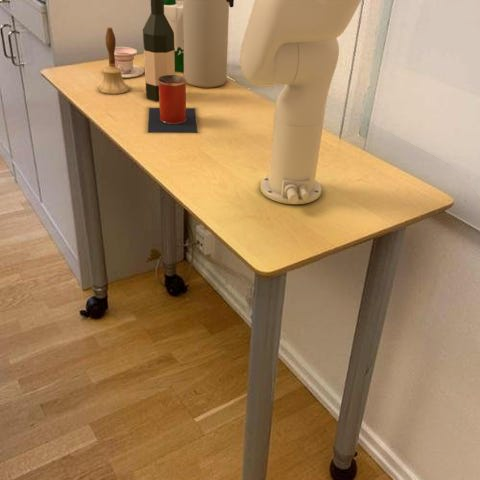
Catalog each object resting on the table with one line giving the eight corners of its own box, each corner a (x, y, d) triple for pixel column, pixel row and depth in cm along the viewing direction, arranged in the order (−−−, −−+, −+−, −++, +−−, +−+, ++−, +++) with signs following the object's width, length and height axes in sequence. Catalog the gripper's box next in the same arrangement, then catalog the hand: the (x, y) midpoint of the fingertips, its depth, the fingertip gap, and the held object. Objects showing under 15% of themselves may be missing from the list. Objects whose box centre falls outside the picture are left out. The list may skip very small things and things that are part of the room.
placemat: (197, 132, 143) (197, 132, 142) (147, 132, 141) (147, 132, 141) (194, 108, 155) (194, 108, 155) (149, 108, 154) (149, 107, 153)
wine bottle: (181, 98, 160) (179, -26, 141) (154, 103, 156) (148, -24, 137) (166, 89, 165) (163, -32, 146) (140, 93, 161) (132, -30, 142)
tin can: (186, 125, 146) (186, 84, 139) (159, 124, 145) (158, 83, 139) (186, 114, 151) (185, 75, 145) (159, 114, 150) (158, 74, 144)
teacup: (152, 71, 177) (151, 50, 173) (126, 81, 169) (124, 59, 165) (121, 63, 181) (120, 42, 177) (95, 73, 173) (92, 51, 169)
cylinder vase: (190, 72, 178) (190, -21, 162) (230, 77, 176) (233, -16, 160) (178, 85, 168) (177, -12, 152) (220, 90, 167) (223, -7, 151)
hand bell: (126, 83, 167) (121, 23, 157) (131, 93, 161) (127, 31, 151) (96, 85, 165) (90, 24, 155) (101, 95, 159) (94, 32, 149)
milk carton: (167, 62, 184) (165, -9, 172) (195, 65, 183) (194, -6, 171) (158, 70, 178) (155, -3, 165) (187, 74, 177) (186, 0, 164)
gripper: (216, -89, 111) (214, 9, 122) (305, -85, 113) (295, 11, 124) (213, -93, 117) (212, 1, 128) (298, -89, 119) (289, 3, 130)
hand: (253, 6), depth 126 cm, fingers open, 9 cm apart
